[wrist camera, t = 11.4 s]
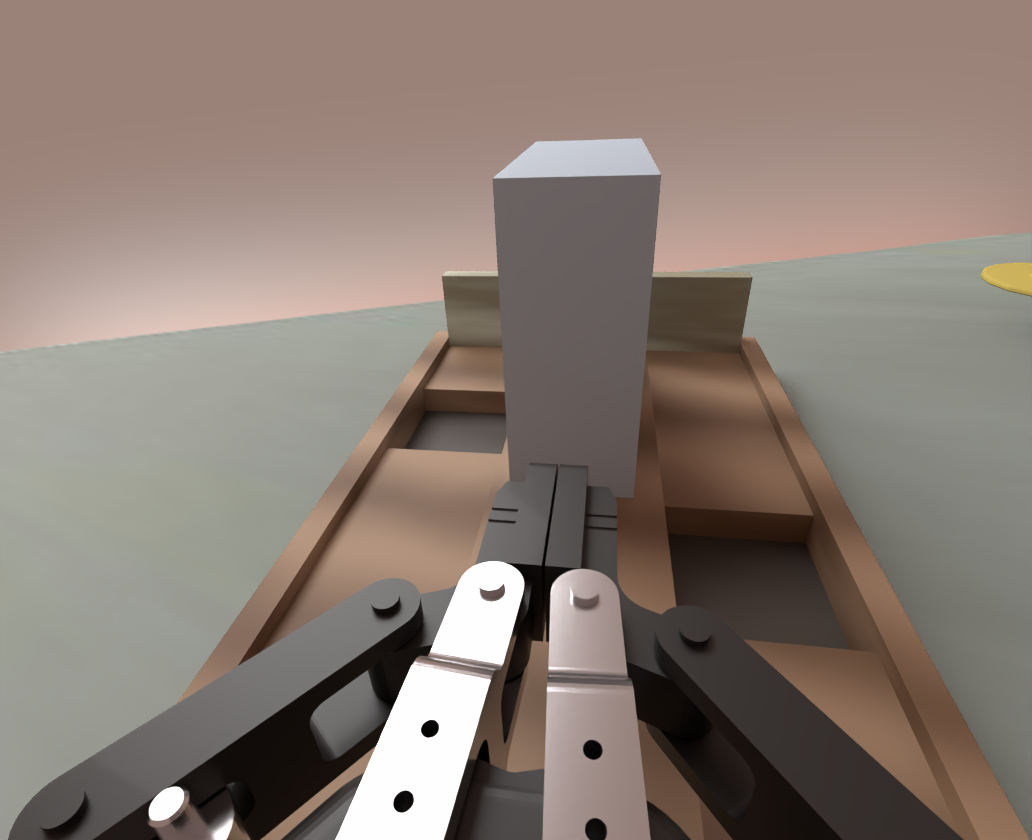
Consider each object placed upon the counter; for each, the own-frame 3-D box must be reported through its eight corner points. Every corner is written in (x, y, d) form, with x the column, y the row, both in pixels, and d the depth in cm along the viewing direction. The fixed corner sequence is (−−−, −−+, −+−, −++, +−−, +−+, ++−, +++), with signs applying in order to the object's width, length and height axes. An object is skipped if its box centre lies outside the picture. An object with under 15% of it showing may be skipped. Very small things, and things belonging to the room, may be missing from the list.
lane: (441, 361, 38) (430, 271, 35) (748, 369, 35) (767, 272, 32) (27, 1034, 11) (-178, 906, 8) (1183, 1305, 8) (1564, 1272, 5)
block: (540, 366, 33) (536, 141, 27) (625, 368, 33) (641, 138, 27) (510, 491, 23) (492, 178, 17) (633, 498, 23) (661, 174, 16)
